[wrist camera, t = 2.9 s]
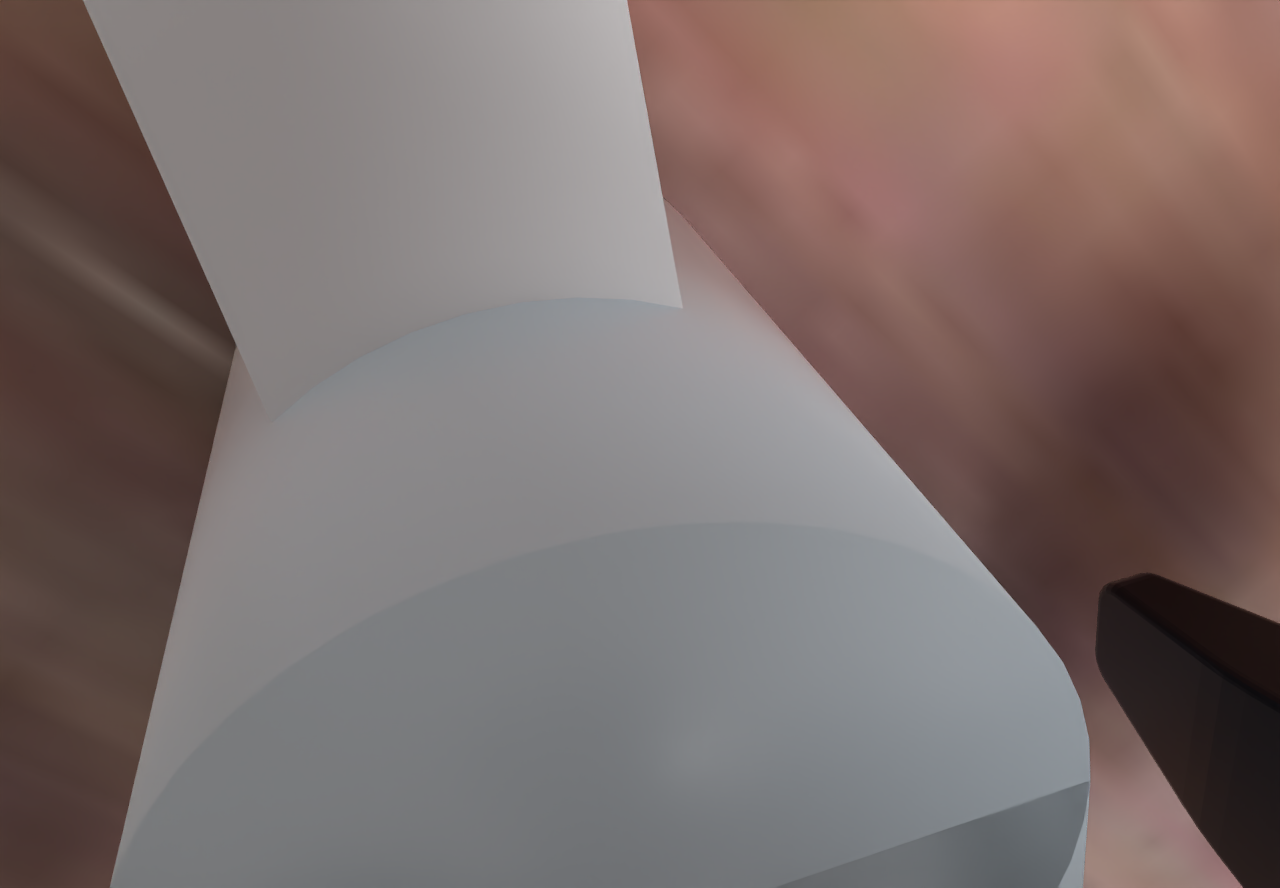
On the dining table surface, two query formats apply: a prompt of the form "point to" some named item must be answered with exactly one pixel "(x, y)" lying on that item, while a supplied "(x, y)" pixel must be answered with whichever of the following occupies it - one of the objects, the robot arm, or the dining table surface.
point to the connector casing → (540, 506)
